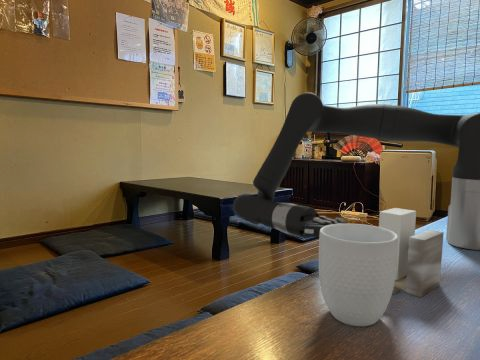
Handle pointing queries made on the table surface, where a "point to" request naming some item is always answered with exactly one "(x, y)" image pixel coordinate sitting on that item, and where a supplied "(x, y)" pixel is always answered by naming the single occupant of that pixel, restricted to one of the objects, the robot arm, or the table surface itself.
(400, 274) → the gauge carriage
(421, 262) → the gauge base
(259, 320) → the table surface
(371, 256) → the mug
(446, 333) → the table surface
